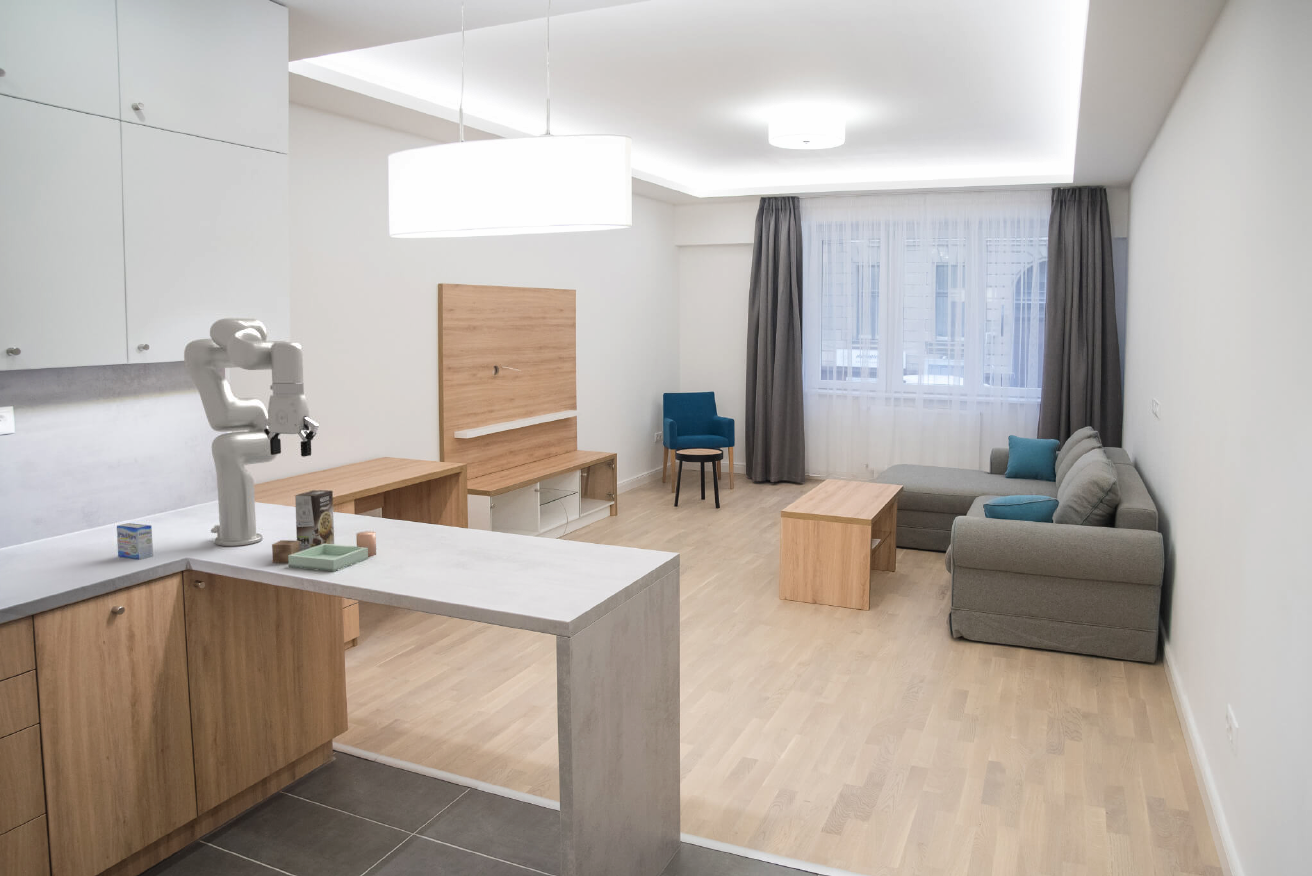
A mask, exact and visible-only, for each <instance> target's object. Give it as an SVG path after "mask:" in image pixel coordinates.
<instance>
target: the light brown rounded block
mask: <svg viewBox="0 0 1312 876" xmlns="http://www.w3.org/2000/svg"><path fill="white" fill-rule="evenodd" d="M376 539H377V537H376V532H375V531H371V530H370V531H369V530H367V531H360V532H357V533H356V547H365V548H368V558H370V556H371V557H374V556H373V555H375V556H376V555H377V540H376Z"/></svg>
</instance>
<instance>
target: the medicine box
mask: <svg viewBox="0 0 1312 876" xmlns="http://www.w3.org/2000/svg"><path fill="white" fill-rule="evenodd" d="M152 530H153V527H152V525H149V524H140V523H133V522H131V523H130V522H129V523H122V524H118V525H116V541H117V544H116V545H117V556H118V557H119V558H123V559H125V558H126V559H131V560H132V559H133V560H142V559H143V560H144V559H147V558H150V557H153V556H154V550H153V549H154V547H153V545H154V544H153V531H152Z"/></svg>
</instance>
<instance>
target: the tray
mask: <svg viewBox="0 0 1312 876" xmlns="http://www.w3.org/2000/svg"><path fill="white" fill-rule="evenodd" d="M367 558H368V559H369V557H368V548H365V547H357V546H352V545H342V544H335V543H334V544H321V545H318V546H315V547H312V548H309V549H306V550H303V551H300V552H297V553H294V554H291V555H288V559H289V563H288V567H289V568H295V567H302V568H301V569H304V568H306V570H313V569H318V570H317V571H323V570H326V572H332V571H335V572H337V571H339V570H338V569H340V570H342V569H341V568H343V567H345V568H347V567H346V566H348V567H351V566H352V565H351V564H353V565H355V563H356V562H358V563H360V561H361V562H363V561H365V559H366V560H368V559H367ZM362 560H363V561H362ZM356 564H357V563H356ZM343 569H344V568H343ZM336 570H337V571H336Z"/></svg>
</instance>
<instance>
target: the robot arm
mask: <svg viewBox="0 0 1312 876" xmlns="http://www.w3.org/2000/svg"><path fill="white" fill-rule="evenodd" d="M209 336H210V338H200V339H196V340H192V341H190V342H189V343H187V344H186V346H185V348H184V350H183V351H184V352H183V358H184V364H185V365H184V367H185V369H186V371H187V374H188V376H189V378H190V379H191V381H192V382H193V384H194V386H195V388H196V389H197V391H198V394H199V397H200V399H201V404H202V407H203V409H204V413H205V415H206V419H207V421H208V423H209V426H210V427H211V429H212V430H213V431H215V432H218V433H219V432H220V433H223V434H219V435H218V436H216V437H215V438H214V439H213V440H212V442H211V453H212V454H211V455H212V458H213V463H214V467H215V472H216V474H215V475H216V486H217V501H218V514H219V515H218V517H219V518H218V519H219V524H218V525H217V524H215V525H214V527H211V529H210V532H211V533H212V534H217V535H216V537H215V538H214V542H213V543H214V544H215V545H217V546H225V547H236V546H245V545H251V544H252V545H253V544H256V543H259V542H261V541H262V540H263V535H262V534H261V533H257V523H256V521H257V520H256V502H255V501H256V500H255V498H256V497H255V482H254V478H253V476H252V474H251V473H250V472H249V471H248V469H246V468H245V466H247V465H253V464H264V463H269V462H272V461H273V460H275V459H276V457H277V456H278V455H279V454H282V446H281V445H282V442H281V438H279V437H280V436H281V435H282V434H283V435H298V436H299V437H300V439H301V440H302V441H300V456H301V457H302V458H306V457H310V456H311V455H312V441H313V440H314V437H315V436H316V435H317V431H318V429H319V426H320V425H319V424H318V423H317V422H315V421H314V420H312V419H310V411H309V404H308V399H307V397H306V396H307V395H305V394H304V393H305V391H304V389H305V388H304V367H303V366H304V365H303V364H304V363H303V362H304V361H303V347H302V345H301V344H300V343H299V342H293V341H292V342H291V341H285V340H284V341H283V340H267V339H268V332H267V329H266V326H265V325H264V324H263V322H261V321H260V320H258V319H257V318H256V319H255V318H239V317H237V318H236V317H235V318H221V319H218V320H216V321H215V322H214V323H212V325H211V326H210V329H209ZM226 368H227V369H231V368H240V369H242V370H248V371H257V370H258V371H261V370H263V371H265V370H266V371H267V370H268V371H269V370H271V382H272V384H271V385H270V387H269V388H270V390H271V391H272V394H271V395H269V401H268V408H266V406H265V404H264V403H263V402H262V401H261V400H259V399H258V398H254V397H236V396H235V395H234V393H233V389H232V386H231V385H230V383H229V381H228V380H227V379H226V378H225V377H224V376H223V375H222V374H221V373H219V372H217V371H216V370H215V369H226Z"/></svg>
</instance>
